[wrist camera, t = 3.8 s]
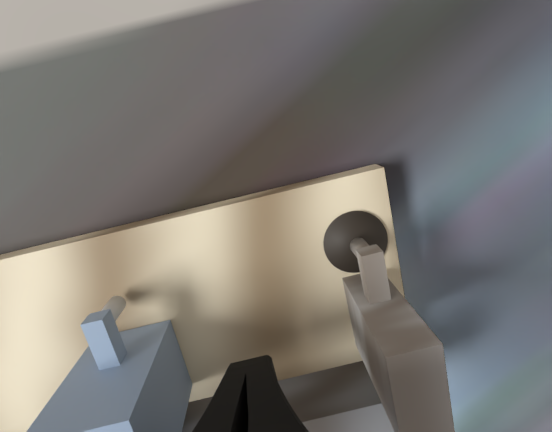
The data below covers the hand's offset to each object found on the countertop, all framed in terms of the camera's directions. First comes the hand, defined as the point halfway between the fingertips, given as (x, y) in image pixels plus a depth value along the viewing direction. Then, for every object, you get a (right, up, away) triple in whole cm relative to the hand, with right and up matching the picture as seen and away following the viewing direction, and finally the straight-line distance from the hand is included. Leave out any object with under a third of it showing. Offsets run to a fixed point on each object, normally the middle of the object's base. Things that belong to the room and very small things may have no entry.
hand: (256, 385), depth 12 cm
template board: (-5, 0, +4) cm, 6 cm away
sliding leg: (-5, 0, +3) cm, 5 cm away
